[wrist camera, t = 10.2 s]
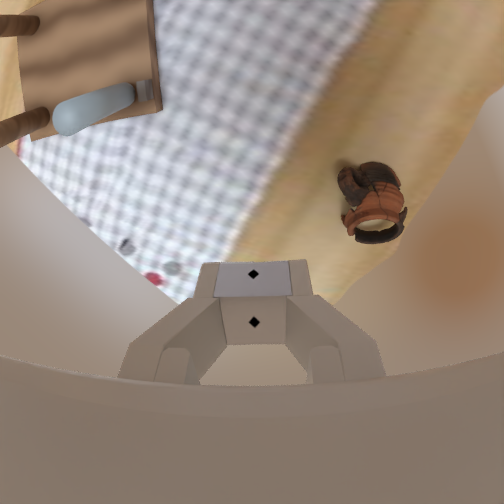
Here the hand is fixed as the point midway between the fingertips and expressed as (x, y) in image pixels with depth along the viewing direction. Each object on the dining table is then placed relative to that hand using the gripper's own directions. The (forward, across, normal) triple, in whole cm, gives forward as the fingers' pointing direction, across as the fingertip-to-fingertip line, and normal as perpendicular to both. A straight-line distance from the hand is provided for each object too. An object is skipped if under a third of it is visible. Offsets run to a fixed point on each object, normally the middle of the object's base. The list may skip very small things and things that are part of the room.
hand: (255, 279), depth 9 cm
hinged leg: (+27, +15, -5) cm, 31 cm away
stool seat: (+31, +22, -12) cm, 40 cm away
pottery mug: (+31, -13, +10) cm, 36 cm away
